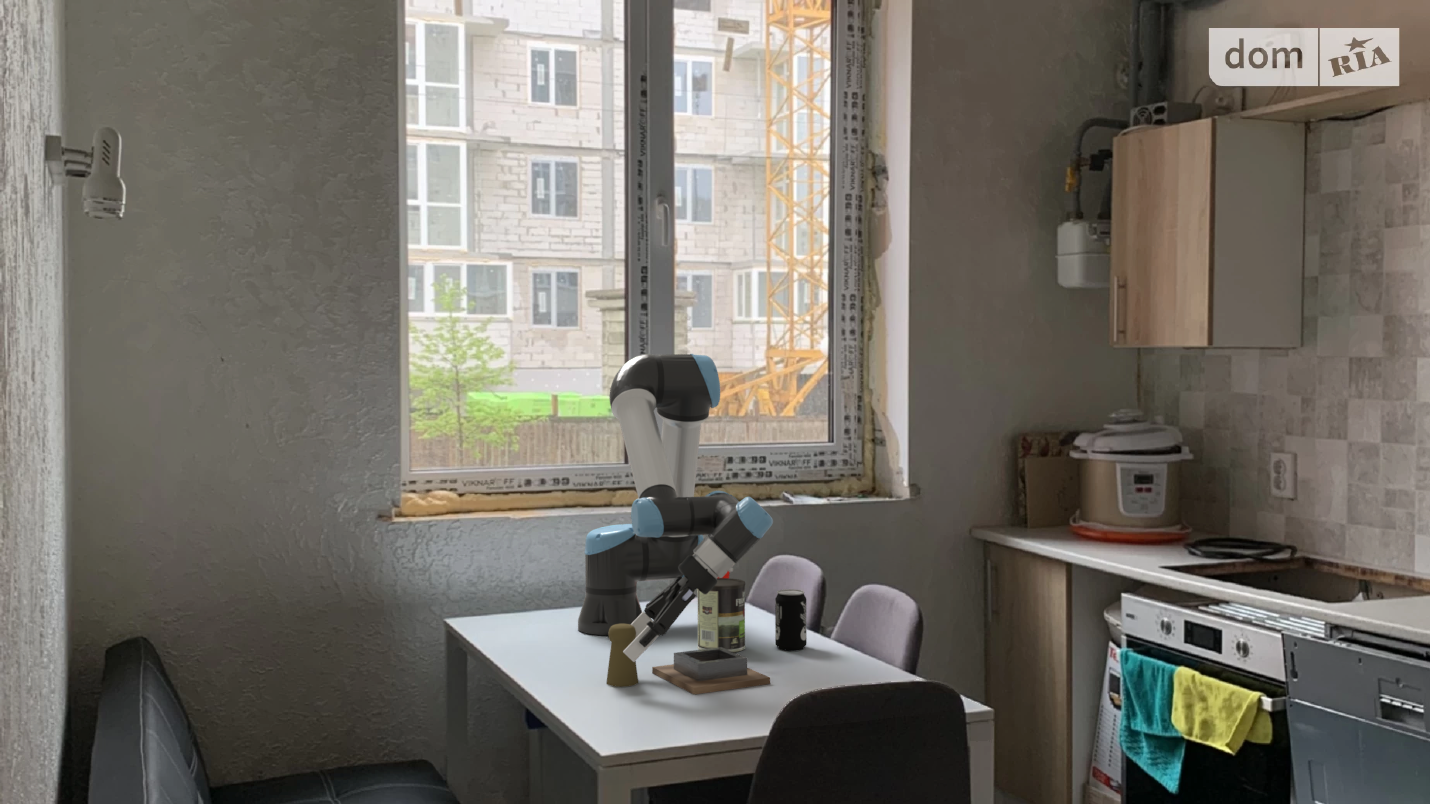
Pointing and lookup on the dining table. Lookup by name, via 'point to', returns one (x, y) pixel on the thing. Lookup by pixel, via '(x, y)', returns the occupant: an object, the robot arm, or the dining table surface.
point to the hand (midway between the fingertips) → (626, 648)
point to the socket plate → (710, 671)
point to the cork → (621, 657)
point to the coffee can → (722, 616)
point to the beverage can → (790, 620)
